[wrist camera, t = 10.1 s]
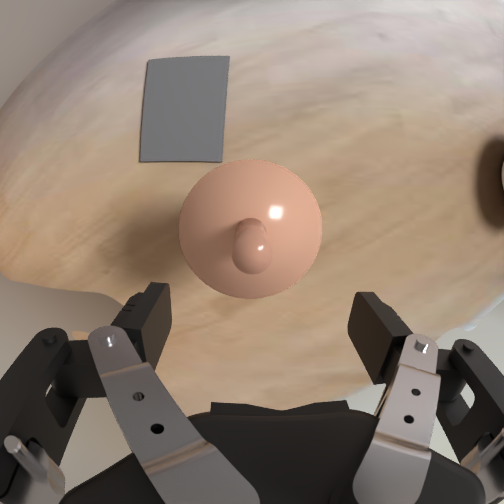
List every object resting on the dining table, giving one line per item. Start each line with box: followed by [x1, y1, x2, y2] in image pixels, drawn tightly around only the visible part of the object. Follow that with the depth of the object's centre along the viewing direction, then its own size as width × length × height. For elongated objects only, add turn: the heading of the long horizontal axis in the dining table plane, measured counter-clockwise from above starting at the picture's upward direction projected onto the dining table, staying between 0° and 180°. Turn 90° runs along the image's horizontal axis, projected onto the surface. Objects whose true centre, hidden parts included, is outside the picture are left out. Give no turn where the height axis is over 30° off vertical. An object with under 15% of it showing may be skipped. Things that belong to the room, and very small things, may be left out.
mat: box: [140, 56, 230, 162], centre depth 35 cm, size 16×12×1 cm
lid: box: [179, 160, 322, 299], centre depth 23 cm, size 13×13×7 cm
